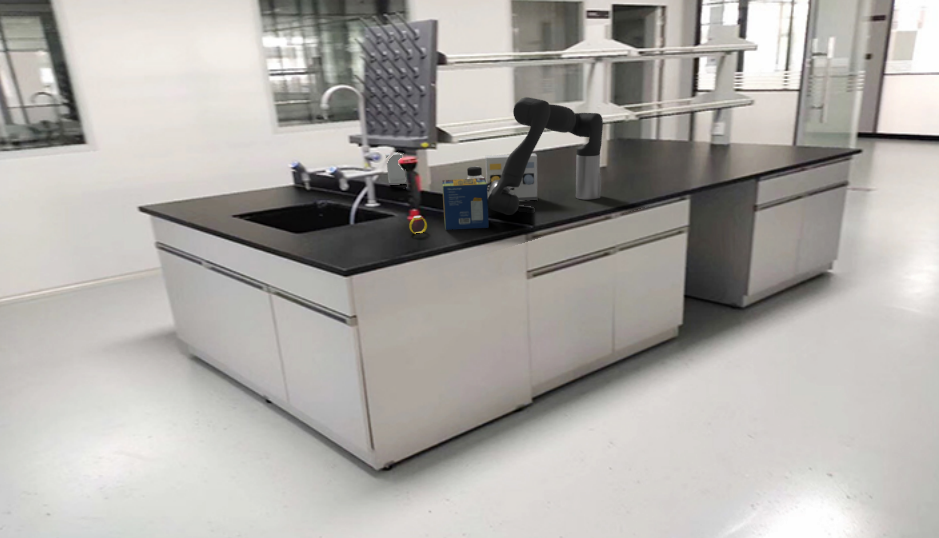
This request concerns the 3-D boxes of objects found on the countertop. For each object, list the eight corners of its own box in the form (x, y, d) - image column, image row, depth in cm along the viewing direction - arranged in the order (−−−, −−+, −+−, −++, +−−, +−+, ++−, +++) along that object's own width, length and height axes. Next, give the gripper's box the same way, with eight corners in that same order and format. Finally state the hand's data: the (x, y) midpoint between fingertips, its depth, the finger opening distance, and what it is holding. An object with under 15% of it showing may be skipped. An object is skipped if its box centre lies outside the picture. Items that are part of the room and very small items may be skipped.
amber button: (500, 183, 246) (499, 174, 245) (500, 186, 242) (500, 177, 241) (491, 184, 246) (490, 175, 245) (491, 186, 242) (491, 177, 241)
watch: (412, 236, 207) (410, 219, 205) (409, 234, 210) (407, 217, 208) (428, 232, 210) (426, 215, 208) (425, 230, 212) (423, 214, 210)
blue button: (532, 182, 246) (532, 173, 245) (533, 184, 242) (533, 175, 241) (523, 182, 246) (523, 173, 245) (524, 185, 242) (524, 175, 241)
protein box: (444, 222, 222) (442, 179, 216) (487, 220, 222) (485, 177, 217) (444, 230, 212) (442, 185, 206) (489, 227, 212) (487, 183, 207)
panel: (535, 197, 253) (535, 153, 247) (537, 200, 247) (537, 155, 241) (487, 199, 253) (485, 155, 247) (487, 203, 247) (486, 158, 241)
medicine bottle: (482, 197, 258) (481, 168, 254) (465, 197, 259) (464, 168, 255) (485, 193, 264) (484, 165, 260) (468, 193, 266) (467, 165, 262)
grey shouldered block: (405, 182, 293) (403, 151, 288) (407, 185, 288) (404, 153, 283) (388, 184, 292) (385, 153, 287) (389, 186, 286) (386, 154, 281)
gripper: (517, 180, 223) (513, 172, 239) (481, 182, 223) (479, 173, 239) (518, 201, 225) (513, 191, 242) (482, 202, 225) (480, 192, 241)
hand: (496, 182), depth 240 cm, fingers closed
